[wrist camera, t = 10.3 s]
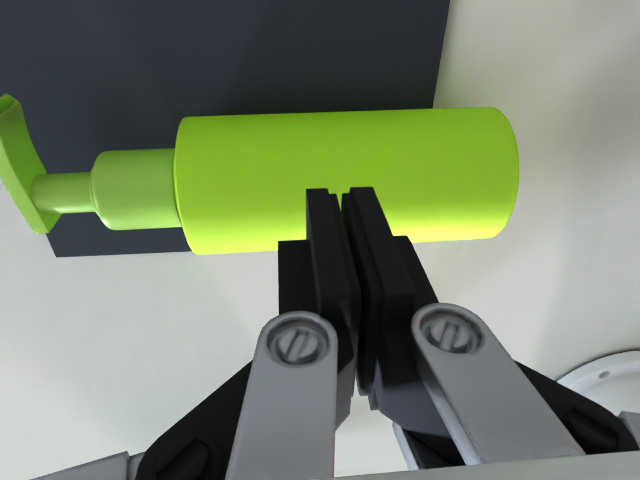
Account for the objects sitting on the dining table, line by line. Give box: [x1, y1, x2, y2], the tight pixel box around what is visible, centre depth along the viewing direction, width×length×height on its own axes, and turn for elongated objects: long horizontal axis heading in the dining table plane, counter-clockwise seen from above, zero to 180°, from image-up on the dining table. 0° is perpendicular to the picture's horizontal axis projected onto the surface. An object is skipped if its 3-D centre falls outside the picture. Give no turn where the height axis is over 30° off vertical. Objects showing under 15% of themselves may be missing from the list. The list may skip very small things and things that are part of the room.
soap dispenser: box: [0, 94, 519, 255], centre depth 18 cm, size 6×7×20 cm
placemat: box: [0, 0, 450, 257], centre depth 19 cm, size 20×16×1 cm
